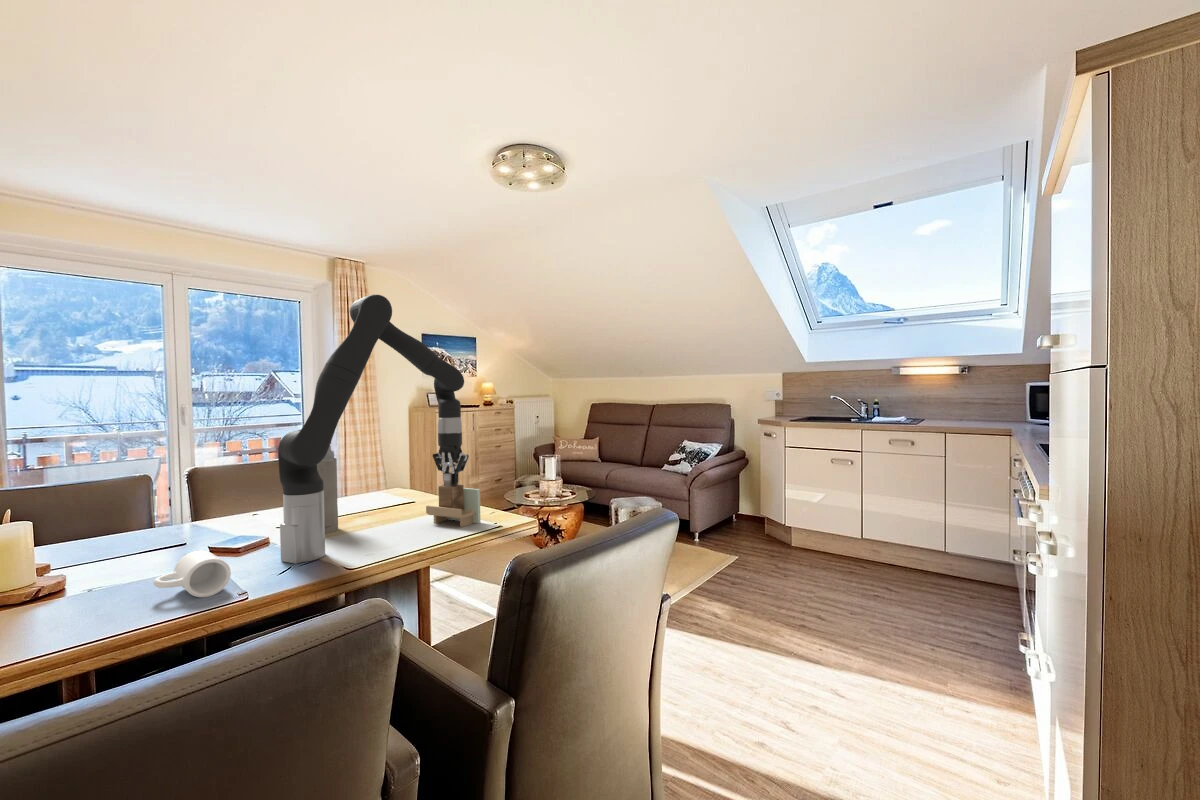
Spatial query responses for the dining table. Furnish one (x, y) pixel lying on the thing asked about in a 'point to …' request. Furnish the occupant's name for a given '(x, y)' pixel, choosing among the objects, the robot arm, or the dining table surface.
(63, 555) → the dining table surface
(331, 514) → the thermos bottle
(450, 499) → the brown box
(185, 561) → the mug
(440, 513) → the small display stand
